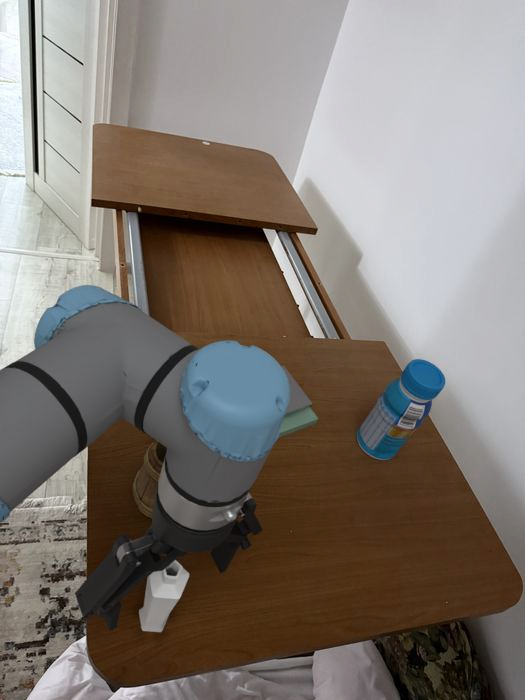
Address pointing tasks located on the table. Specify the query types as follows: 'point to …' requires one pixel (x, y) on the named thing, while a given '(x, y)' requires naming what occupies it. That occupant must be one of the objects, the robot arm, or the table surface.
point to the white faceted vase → (162, 596)
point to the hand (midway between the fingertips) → (166, 588)
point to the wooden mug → (149, 478)
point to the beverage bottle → (400, 409)
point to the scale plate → (296, 395)
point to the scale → (297, 421)
